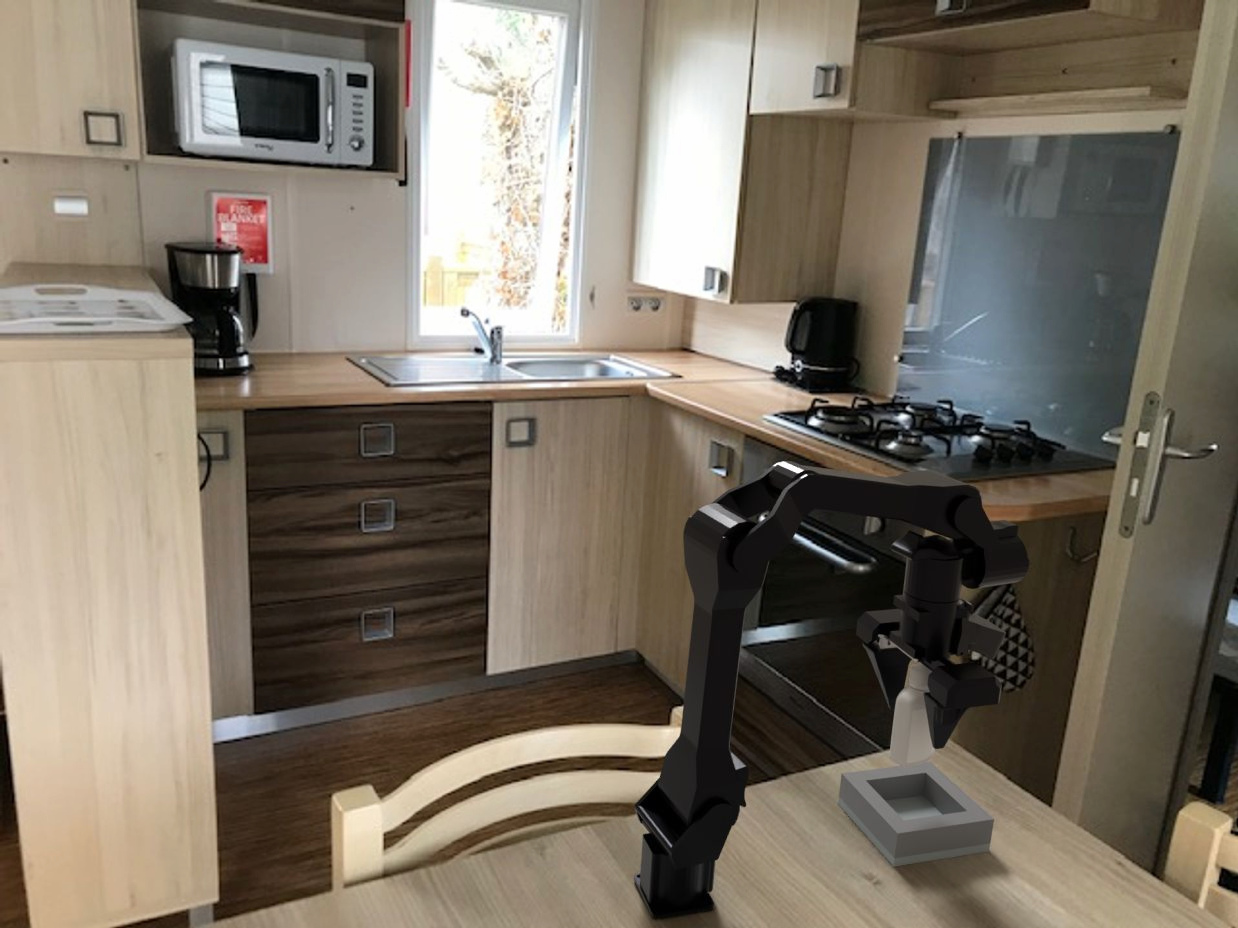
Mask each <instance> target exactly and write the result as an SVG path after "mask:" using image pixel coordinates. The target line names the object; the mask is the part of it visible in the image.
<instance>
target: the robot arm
mask: <svg viewBox="0 0 1238 928" xmlns="http://www.w3.org/2000/svg"><path fill="white" fill-rule="evenodd" d="M980 492H981V491H980V489H979V488H977V487H976V486H974V485H971V484H968V483H965V482H963V481H960V480H957V479H955V478H952V477H950V476H947V475H943V474H942V473H938V472H936V471H933V470H929V469H928V470H917V471H916V470H915V471H914V470H913V471H905V472H902V473H900V474H898V475H893V476H883V475H875V474H868V473H861V472H853V471H846V470H839V469H831V468H826V467H825V468H823V467H816V466H810V465H802V464H800V463H797V462H794V461H791V460H785V461H779V462H776V463H775V464H773V465H772V466H771V467H769V468H768V469H767V470H766V471H764V472H763V473H762V474H761V475H759V476H758V477H755V478H753V479H751V480H749V481H748V480H747V481H746V482H744V483H741V484H739V485H737V486H735V487H731V488H730V489H728V490H726V491H725V492H724V493H722V494H721V495H720V496H719V497H717V498H716V499H715V500H714V501H712V502H711V503H709V504H705V505H704V506H702V507H699V509H697V510H696V511H695V512H694V513H693V514H692V515H690V516H689V517H688V518H687V520H686V522H685V525H684V529H683V532H682V533H683V535H682V537H683V538H682V539H683V555H684V566H685V569H686V573H687V577H688V580H689V581H688V582H689V584H690V587H691V591H692V595H693V601H694V604H693V611H692V612H693V613H692V621H691V631H690V640H689V650H688V651H689V652H688V660H687V669H686V670H687V671H686V679H685V687H684V688H685V689H684V698H683V706H682V707H683V708H682V717H681V726H680V733H679V736H678V738H677V739H676V740H675V741H674V743H673V744H672V745H671V746H670V748H669V749H668V750H667V751H666V754H665V756H664V759H663V763H662V767H661V771H660V773H659V778H658V779H657V780H656V781H655V782H654V783H653V784H652V785H651V786H650V787H649V789H648V790H646V792H645V793H644V794H643V795H642V796H641V797H640V799H638V800H637V802H635V804H634V806H633V807H634V811H635V814H636V817H637V821H639V823H640V824H641V825H642V826H644V828H645V829H646V831H647V833H643V834H642V843H641V844H642V845H641V859H640V872H636V873H634V875H633V880H634V882H635V885H636V886H637V889H638V891H639V893H640V895H641V897H642V899H643V901H644V903H645V906H646V907H647V910H648V912H649V914H650V915H651V917H652V918H653V919H655V920H656V919H657V920H658V919H664V918H665V919H666V918H671V917H677V916H678V917H679V916H682V915H684V916H685V915H688V914H695V913H702V912H707V911H712V910H715V907H716V906H715V901H714V899H713V897H712V896H711V895H710V893H711V892H713V890H714V882H715V881H714V880H715V870H716V861H717V860H719V858H720V856H721V854H722V851H723V850H724V846H725V845H726V842H727V840H728V837H729V834H730V831H731V830H732V827H733V826H735V825H736V823H737V821H738V819H739V816H740V812H741V807H742V808H746V807H747V801H746V798H745V797H746V796H745V793H746V792H745V791H746V786H747V784H748V780H749V767H748V766H747V765H746V764H745V763H744V762H743V761H742V760H741V759H740V758H739V757H738V756H737V755H736V754H734V752H733V751H732V750H731V745H730V744H731V736H732V727H733V725H732V724H733V718H734V717H733V716H734V709H735V700H736V693H737V691H736V690H737V684H738V676H739V668H740V659H741V658H740V656H741V649H742V642H743V633H744V632H743V631H744V625H745V616H746V612H747V611H746V610H747V607H748V606H749V604H750V603H751V602H752V600H753V599H754V598H755V597H756V595H757V594H758V592H759V591H760V590H761V589H762V587H763V585H764V582H765V579H766V575H767V571H768V568H769V567H768V566H769V564H770V561H771V560H772V559H774V558H775V557H776V556H777V555H779V554H780V553H781V552H782V551H783V550H785V548H787V547H788V546H789V545H790V544H791V543H792V541H793V538H795V535H796V533H797V532H798V529H799V527H801V526H800V525H801V523H802V522H803V519H804V518H806V517H807V516H808V515H809V514H810V513H812V512H813V511H815V512H816V511H817V512H824V513H825V512H827V513H832V514H833V513H835V514H842V515H843V514H844V515H851V516H862V517H869V518H871V517H872V518H878V519H887V520H896V521H901V522H905V523H908V524H910V525H913V526H915V527H917V528H918V527H919V528H920V529H923V530H926V531H929V532H931V533H934V534H930V535H922V534H920V533H917V532H915V531H913V530H912V529H911V530H910V529H908V530H907V531H906V532H905V534H904V535H903V536H901V537H900V538H898V539H896V540H895V541H893V543H892V544H891V545H890V550H891V551H892V552H894V553H896V554H899V555H901V556H902V557H904V558H906V562H905V563H906V564H905V571H904V581H903V582H904V583H903V589H902V594H896V595H895V594H894V595H893V606H895V607H896V608H894V609H893V608H892V609H883V610H882V609H881V610H870V611H864V613H863V614H862V615H860V617H858V618H857V622H856V633H855V636H857V637H859V639H861V640H862V641H863V642H862V646H863V648H864V649H865V650H866V653H867V655H868V657H869V660H870V662H871V664H872V667H873V670H874V672H875V675H876V677H877V680H878V681H879V685H880V687H881V690H882V693H883V694H884V698H885V701H886V703H887V706H888V708H889V709H890V710H891V711H895V705H896V700H897V697H898V695H899V693H900V692H901V691H902V690H903V689H904V688H905V687H906V681H907V676H908V671H909V665H910V663H911V661H914V662H915V663H918V662H921V663H922V664H923V665H924V666H925V667H927V668H928V669H929V670H931V671H932V672H931V673H930V674H929V675H928V684H927V685H928V688H929V691H930V692H925V693H924V700H925V707H926V712H927V719H928V725H929V731H930V737H931V741H932V745H933V748H935V750H941V749H944V748H945V746H946V744H947V743H948V741H949V739H950V738H951V737H952V735H953V732H954V731H955V729H956V727H957V725H958V724H959V722H960V721H961V719H962V718H963V716H964V715H965V714H966V713H967V711H969V709H970V708H975V707H977V708H978V707H985V706H994V705H999V703H1000V701H1001V700H1000V699H1001V694H1002V687H1003V686H1002V685H1003V684H1002V683H1001V681H1000V680H999V679H998V678H997V677H996V676H995V675H994V674H992V673H991V672H990V671H988V670H986V668H984V667H982V666H981V665H979V664H978V663H977V662H975V661H971V662H963V663H955V662H954V661H952V660H951V658H952V657H951V656H956V657H957V658H958V657H966V656H968V651H971V652H973V653H978V654H980V655H985V656H986V658H988V659H991V660H994V659H995V658H996V657H997V654H998V652H999V649H1000V647H1001V645H1002V643H1003V641H1004V639H1005V636H1006V634H1007V632H1006V631H1005V630H1003V629H1001V627H999V626H998V625H996V624H994V623H992V622H991V621H989V620H987V619H986V618H984V617H981V616H980V615H978V614H977V613H974V605H973V604H972V603H971V602H969V601H967V600H966V599H964V598H961V595H962V586H963V587H965V588H967V589H969V590H970V589H972V590H975V589H982V588H988V587H995V586H1001V585H1009V584H1014V583H1015V584H1016V583H1018V582H1021V581H1023V579H1024V578H1025V577H1026V575H1027V573H1028V570H1029V569H1030V559H1029V557H1028V551H1027V548H1026V545H1025V544H1024V542H1023V541H1022V539H1021V538H1020V537H1019V536H1018V533H1019V525H1017V524H1016V523H1013V522H1010V521H1008V520H1005V519H1003V520H1002V519H1001V520H996V521H992V522H991V521H990V518H989V517H988V515H987V514H986V511H985V509H984V507H983V501H982V496H981V494H980ZM771 509H772V510H771ZM768 510H770V513H769V514H768V515H766V517H764V518H763V519H762V520H761V521H759V523H757V522H756V521H753V520H751V519H750V518H752V517H755V516H756V515H759V514H761V513H764V512H766V511H768ZM948 538H949V539H948Z"/></svg>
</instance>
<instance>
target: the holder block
mask: <svg viewBox="0 0 1238 928" xmlns="http://www.w3.org/2000/svg"><path fill="white" fill-rule="evenodd" d="M839 783H840V784H839V791H838V792H839V793H838V802H837V804H838V805H839V807H840V808H841V809H842V810H843V811H844V812H845V814H846V815H847V816H848V817H849V818H850V819H851V820H852V821H853V823H854V824H855V825H856V826H857V827H858V828H859V829H860V831H861V832H862V833H863V834H864V836H866V837H867V839H868V840H869V841H870V842H871V843H872V844H873V845H874V847H875V848H876V849H877V850H878V852H880V853H881V855H883V857H884V858H885V859H886V860H887V862H889V863H890V865H891V866H892V867H898V866H905V865H912V864H919V863H924V862H930V861H938V860H943V859H944V860H945V859H951V858H956V857H962V856H969V855H974V854H981V853H988V852H990V849H991V841H992V835H993V830H994V825H995V824H994V822H995V818H993V817H992V815H991V814H989V813H988V812H987V811H986V810H985V809H984V808H983V807H981V805H979V803H977V802H976V801H975V800H974V799H973V798H971V797H970V795H969V794H967V793H966V792H965V791H964V790H963V789H961V787H960V786H958V785H957V784H956V783H955V781H954V782H953V780H951V778H949V777H948V776H947V775H946V774H945V773H944V772H943V771H941V769H939V768H938V767H937V766H936V765H935V764H934V763H933V762H931V761H928V762H926V763H924V764H922V765H919V766H915V767H908V768H907V767H903V766H900V765H896V766H890V767H889V766H887V767H881V768H873V769H866V770H865V769H864V770H857V771H850V772H842V773H841V775H840V782H839Z"/></svg>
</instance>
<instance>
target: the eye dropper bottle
mask: <svg viewBox="0 0 1238 928" xmlns="http://www.w3.org/2000/svg"><path fill="white" fill-rule="evenodd" d="M931 672H932V671H931V670H929V669H928V668H927V667H925V666H924V665H923V664H922V663H921V662H916V663H914V664H911V665H910V669H909V678H908V685H905V687H904V689H903V690H902V691H901V692H900V693H899V695H898V697H897V700H896V705H895V710H894V711H893V712H894V714H893V721H892V730H891V738H890V746H889V747H890V748H889V759H890V760H891V762H893V763H895V764H897V765H898V766H903V767H907V768H908V767H915V766H919V765H922V764H924V763H927V762H930V760H931V759H932V758H933V757H934V755H935V752H936V749H935V748H933V745H932V741H931V737H930V731H929V725H928V719H927V712H926V707H925V700H924V693H925V692H930V691H929V688H928V685H927V684H928V675H929V674H930V673H931Z"/></svg>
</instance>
